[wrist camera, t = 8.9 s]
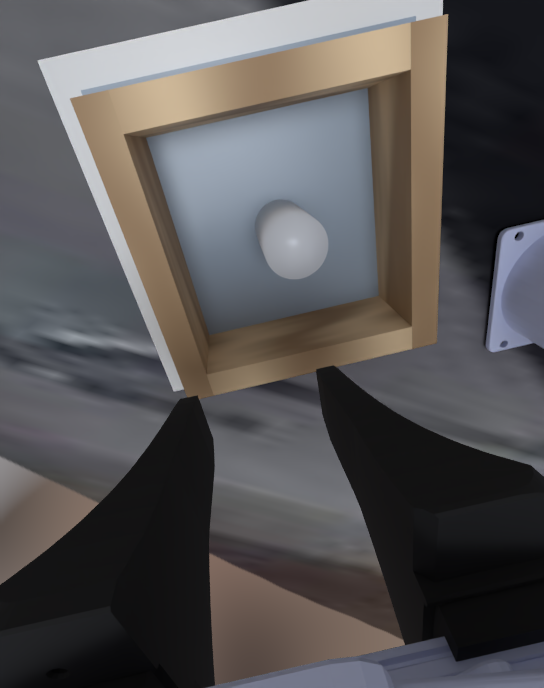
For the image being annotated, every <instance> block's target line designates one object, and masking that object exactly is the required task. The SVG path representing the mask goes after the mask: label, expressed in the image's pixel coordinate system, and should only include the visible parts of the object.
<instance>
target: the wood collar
mask: <svg viewBox="0 0 544 688" xmlns="http://www.w3.org/2000/svg"><path fill="white" fill-rule="evenodd" d="M447 31H448V14H446V15H442V16H437V17H433V18H428V19H424V20H419V21H415V22H410V23H406V24H401V25H397V26H392V27H388V28H383V29H379V30H374V31H370V32H365V33H361V34H356V35H352V36H347V37H343V38H338V39H334V40H329V41H325V42H320V43H316V44H312V45H307V46H303V47H298V48H294V49H289V50H285V51H280V52H276V53H271V54H267V55H262V56H258V57H253V58H249V59H244V60H240V61H235V62H231V63H226V64H222V65H217V66H213V67H208V68H204V69H199V70H195V71H190V72H186V73H182V74H177V75H173V76H168V77H164V78H159V79H155V80H150V81H146V82H141V83H137V84H132V85H128V86H123V87H119V88H114V89H110V90H105V91H101V92H96V93H92V94H87V95H83V96H78V97H74V98H70V100H71V103H72V106H73V108H74V111H75V113H76V116H77V118H78V121H79V123H80V126H81V128H82V131H83V134H84V136H85V139H86V141H87V144H88V146H89V149H90V151H91V154H92V156H93V159H94V161H95V164H96V167H97V169H98V172H99V174H100V177H101V179H102V182H103V184H104V187H105V189H106V192H107V195H108V197H109V200H110V202H111V205H112V207H113V210H114V212H115V215H116V217H117V220H118V222H119V225H120V228H121V230H122V233H123V235H124V238H125V240H126V243H127V245H128V248H129V250H130V253H131V256H132V258H133V261H134V263H135V266H136V268H137V271H138V273H139V276H140V278H141V281H142V283H143V286H144V289H145V291H146V294H147V296H148V299H149V301H150V304H151V306H152V309H153V311H154V314H155V317H156V319H157V322H158V324H159V327H160V329H161V332H162V334H163V337H164V339H165V342H166V345H167V347H168V350H169V352H170V355H171V357H172V360H173V362H174V365H175V367H176V370H177V372H178V375H179V378H180V380H181V383H182V385H183V388H184V390H185V393H186V395H187V397H192V396H196V395H198V398H199V399H201V398H206V397H210V396H214V395H218V394H223V393H227V392H231V391H236V390H240V389H244V388H248V387H253V386H257V385H261V384H265V383H270V382H274V381H278V380H282V379H287V378H291V377H295V376H299V375H304V374H308V373H312V372H316V369H319V368H323V367H328V366H333V365H334V366H335V367H338V366H342V365H346V364H350V363H355V362H359V361H363V360H368V359H372V358H376V357H380V356H385V355H389V354H393V353H397V352H402V351H406V350H410V349H414V348H419V347H423V346H427V345H431V344H436V343H437V321H438V292H439V263H440V234H441V205H442V176H443V147H444V118H445V89H446V60H447ZM365 88H368V103H369V122H370V141H371V160H372V178H373V197H374V216H375V235H376V254H377V272H378V291H379V296H376V297H371V298H367V299H363V300H358V301H354V302H350V303H345V304H341V305H337V306H333V307H328V308H324V309H320V310H315V311H311V312H307V313H302V314H298V315H294V316H290V317H285V318H281V319H277V320H272V321H268V322H264V323H259V324H255V325H251V326H247V327H242V328H238V329H234V330H229V331H225V332H221V333H216V334H212V335H209V332H208V329H207V326H206V323H205V320H204V317H203V314H202V311H201V307H200V304H199V301H198V298H197V295H196V292H195V289H194V286H193V282H192V279H191V276H190V273H189V270H188V267H187V264H186V261H185V258H184V254H183V251H182V248H181V245H180V242H179V239H178V236H177V233H176V229H175V226H174V223H173V220H172V217H171V214H170V211H169V208H168V205H167V201H166V198H165V195H164V192H163V189H162V186H161V183H160V180H159V176H158V173H157V170H156V167H155V164H154V161H153V158H152V155H151V152H150V148H149V145H148V142H147V139H146V138H147V137H152V136H156V135H161V134H165V133H170V132H174V131H179V130H183V129H187V128H192V127H196V126H201V125H205V124H210V123H214V122H218V121H223V120H227V119H232V118H236V117H241V116H245V115H250V114H254V113H258V112H263V111H267V110H272V109H276V108H281V107H285V106H290V105H294V104H298V103H303V102H307V101H312V100H316V99H321V98H325V97H330V96H334V95H338V94H343V93H347V92H352V91H356V90H361V89H365Z"/></svg>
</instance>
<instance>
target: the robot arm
mask: <svg viewBox="0 0 544 688" xmlns="http://www.w3.org/2000/svg"><path fill="white" fill-rule="evenodd" d="M518 232H519V234H518V237H517V238H516V239H515V235H516V234H517V233H518ZM502 342H503V343H502ZM501 343H502V344H501ZM531 343H535V344H537V345H538V346H540V347H542V348H543V349H544V220H540V221H535V222H531V223H527V224H522V225H518V226H514V227H509V228H506V229H504V230H503V231H501V233H500V234H499V236H498V240H497V249H496V258H495V267H494V275H493V284H492V293H491V302H490V311H489V320H488V329H487V338H486V348H487V349H488V350H489V351H491V352H497V351H502V350H506V349H510V348H514V347H519V346H523V345H527V344H531ZM316 373H317V380H318V387H319V393H320V400H321V407H322V414H323V418H324V421H325V424H326V427H327V430H328V434H329V437H330V440H331V442H332V444H333V447H334V449H335V451H336V453H337V456H338V458H339V460H340V462H341V465H342V467H343V469H344V471H345V473H346V476H347V478H348V480H349V482H350V484H351V487H352V489H353V491H354V493H355V495H356V498H357V500H358V503H359V505H360V508H361V511H362V513H363V516H364V519H365V522H366V525H367V528H368V531H369V534H370V537H371V540H372V543H373V546H374V549H375V552H376V555H377V558H378V561H379V564H380V567H381V570H382V573H383V576H384V579H385V583H386V586H387V589H388V592H389V595H390V598H391V601H392V604H393V607H394V611H395V614H396V617H397V620H398V624H399V627H400V630H401V633H402V636H403V640H404V643H405V645H404V646H400V647H395V648H391V649H387V650H382V651H379V652H374V653H369V654H366V655H361V656H356V657H347V658H337V659H328V660H324V661H320V662H316V663H311V664H307V665H303V666H298V667H294V668H289V669H285V670H281V671H276V672H272V673H268V674H263V675H259V676H255V677H250V678H246V679H242V680H237V681H233V682H229V683H224V684H220V685H216V686H215V681H214V665H213V651H212V650H213V649H212V630H211V608H210V576H209V529H210V517H211V505H212V493H213V481H214V467H215V464H214V443H213V437H212V434H211V431H210V429H209V426H208V423H207V420H206V418H205V415H204V412H203V409H202V406H201V404H200V401H199V398H198V395H196V396H192V397H187V398H183V399H180V400H179V401H178V403H177V404H176V406H175V407H174V409H173V410H172V412H171V413H170V415H169V417H168V418H167V420H166V421H165V423H164V424H163V426H162V427H161V429H160V430H159V432H158V433H157V435H156V436H155V438H154V439H153V441H152V442H151V443H150V445H149V446H148V448H147V449H146V450H145V452H144V453H143V454H142V455H141V457H140V458H139V459H138V461H137V462H136V463H135V465H134V466H133V467H132V468H131V470H130V471H129V472H128V473H127V474H126V476H125V477H124V478H123V479H122V480H121V481H120V482H119V483H118V484H117V486H116V487H115V488H114V489H113V490H112V491H111V492H110V493H109V494H108V495H107V496H106V497H105V498H104V499H103V500H102V501H101V502H100V503H99V504H98V505H97V506H96V507H95V508H94V509H93V510H92V511H91V512H90V513H89V514H88V515H87V516H86V517H85V518H84V519H83V520H81V521H80V522H79V523H78V524H77V525H76V526H75V527H74V528H72V529H71V530H70V531H69V532H68V533H67V534H66V535H64V536H63V537H62V538H61V539H60V540H58V541H57V542H56V543H55V544H54V545H52V546H51V547H50V548H49V549H47V550H46V551H45V552H44V553H42V554H41V555H40V556H38V557H37V558H36V559H35V560H33V561H32V562H30V563H29V564H28V565H27V566H25V567H24V568H22V569H21V570H20V571H18V572H17V573H16V574H15V575H13V576H12V577H11V578H9V579H8V580H6V581H5V582H4V583H2V584H1V585H0V688H544V477H543V476H542V475H541V474H540V473H539V472H538V471H536V470H535V469H534V468H533V467H532V466H531V465H528V464H524V463H521V462H517V461H514V460H510V459H506V458H503V457H499V456H496V455H492V454H489V453H486V452H483V451H480V450H477V449H474V448H472V447H469V446H466V445H463V444H461V443H458V442H455V441H453V440H450V439H448V438H446V437H443V436H441V435H439V434H436V433H434V432H432V431H430V430H428V429H425V428H423V427H421V426H419V425H417V424H415V423H414V422H412V421H410V420H408V419H406V418H404V417H402V416H401V415H399V414H397V413H396V412H394V411H393V410H391V409H390V408H388V407H386V406H385V405H383V404H382V403H380V402H379V401H378V400H376V399H375V398H373V397H372V396H371V395H369V394H368V393H367V392H365V391H364V390H363V389H361V388H360V387H359V386H358V385H356V384H355V383H354V382H353V381H352V380H350V379H349V378H348V377H347V376H346V375H345V374H343V373H342V372H341V371H340V370H339V369H338V368H337V367H335V366H334V365H333V366H328V367H323V368H319V369H316Z"/></svg>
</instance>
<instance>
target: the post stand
mask: <svg viewBox="0 0 544 688" xmlns="http://www.w3.org/2000/svg"><path fill="white" fill-rule="evenodd" d="M442 14H443V0H309V1H304V2H299V3H295V4H290V5H286V6H281V7H277V8H272V9H268V10H263V11H259V12H254V13H250V14H245V15H241V16H236V17H232V18H227V19H223V20H218V21H214V22H209V23H205V24H200V25H196V26H191V27H187V28H182V29H178V30H173V31H169V32H164V33H160V34H155V35H151V36H146V37H141V38H137V39H132V40H128V41H123V42H119V43H114V44H110V45H105V46H101V47H96V48H92V49H87V50H83V51H78V52H74V53H69V54H65V55H60V56H56V57H51V58H47V59H42V60H38V64H39V66H40V68H41V71H42V73H43V76H44V78H45V81H46V83H47V85H48V88H49V90H50V93H51V95H52V97H53V100H54V102H55V105H56V107H57V110H58V112H59V114H60V117H61V119H62V122H63V124H64V127H65V129H66V131H67V134H68V136H69V139H70V141H71V144H72V146H73V148H74V151H75V153H76V156H77V158H78V160H79V163H80V165H81V168H82V170H83V173H84V175H85V177H86V180H87V182H88V185H89V187H90V190H91V192H92V194H93V197H94V199H95V202H96V204H97V207H98V209H99V211H100V214H101V216H102V219H103V221H104V224H105V226H106V228H107V231H108V233H109V236H110V238H111V240H112V243H113V245H114V248H115V250H116V253H117V255H118V257H119V260H120V262H121V265H122V267H123V270H124V272H125V274H126V277H127V279H128V282H129V284H130V287H131V289H132V291H133V294H134V296H135V299H136V301H137V304H138V306H139V308H140V311H141V313H142V316H143V318H144V320H145V323H146V325H147V328H148V330H149V333H150V335H151V337H152V340H153V342H154V345H155V347H156V350H157V352H158V354H159V357H160V359H161V362H162V364H163V367H164V369H165V371H166V374H167V376H168V379H169V381H170V384H171V386H172V388H173V391H179V390H183V389H184V388H183V385H182V383H181V380H180V378H179V375H178V372H177V370H176V367H175V365H174V362H173V360H172V357H171V355H170V352H169V350H168V347H167V345H166V342H165V339H164V337H163V334H162V332H161V329H160V327H159V324H158V322H157V319H156V317H155V314H154V311H153V309H152V306H151V304H150V301H149V299H148V296H147V294H146V291H145V289H144V286H143V283H142V281H141V278H140V276H139V273H138V271H137V268H136V266H135V263H134V261H133V258H132V256H131V253H130V250H129V248H128V245H127V243H126V240H125V238H124V235H123V233H122V230H121V228H120V225H119V222H118V220H117V217H116V215H115V212H114V210H113V207H112V205H111V202H110V200H109V197H108V195H107V192H106V189H105V187H104V184H103V182H102V179H101V177H100V174H99V172H98V169H97V167H96V164H95V161H94V159H93V156H92V154H91V151H90V149H89V146H88V144H87V141H86V139H85V136H84V134H83V131H82V128H81V126H80V123H79V121H78V118H77V116H76V113H75V111H74V108H73V106H72V103H71V100H70V98H74V97H78V96H83V95H87V94H92V93H96V92H101V91H105V90H110V89H114V88H119V87H123V86H128V85H132V84H137V83H141V82H146V81H150V80H155V79H159V78H164V77H168V76H173V75H177V74H182V73H186V72H190V71H195V70H199V69H204V68H208V67H213V66H217V65H222V64H226V63H231V62H235V61H240V60H244V59H249V58H253V57H258V56H262V55H267V54H271V53H276V52H280V51H285V50H289V49H294V48H298V47H303V46H307V45H312V44H316V43H320V42H325V41H329V40H334V39H338V38H343V37H347V36H352V35H356V34H361V33H365V32H370V31H374V30H379V29H383V28H388V27H392V26H397V25H401V24H406V23H410V22H415V21H419V20H424V19H428V18H433V17H437V16H442ZM146 139H147V142H148V145H149V148H150V152H151V155H152V158H153V161H154V164H155V167H156V170H157V173H158V176H159V180H160V183H161V186H162V189H163V192H164V195H165V198H166V201H167V205H168V208H169V211H170V214H171V217H172V220H173V223H174V226H175V229H176V233H177V236H178V239H179V242H180V245H181V248H182V251H183V254H184V258H185V261H186V264H187V267H188V270H189V273H190V276H191V279H192V282H193V286H194V289H195V292H196V295H197V298H198V301H199V304H200V307H201V311H202V314H203V317H204V320H205V323H206V326H207V329H208V332H209V335H212V334H216V333H221V332H225V331H229V330H234V329H238V328H242V327H247V326H251V325H255V324H259V323H264V322H268V321H272V320H277V319H281V318H285V317H290V316H294V315H298V314H302V313H307V312H311V311H315V310H320V309H324V308H328V307H333V306H337V305H341V304H345V303H350V302H354V301H358V300H363V299H367V298H371V297H376V296H379V291H378V272H377V254H376V235H375V216H374V197H373V178H372V160H371V141H370V122H369V103H368V88H365V89H361V90H356V91H352V92H347V93H343V94H338V95H334V96H330V97H325V98H321V99H316V100H312V101H307V102H303V103H298V104H294V105H290V106H285V107H281V108H276V109H272V110H267V111H263V112H258V113H254V114H250V115H245V116H241V117H236V118H232V119H227V120H223V121H218V122H214V123H210V124H205V125H201V126H196V127H192V128H187V129H183V130H179V131H174V132H170V133H165V134H161V135H156V136H152V137H147V138H146Z"/></svg>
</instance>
